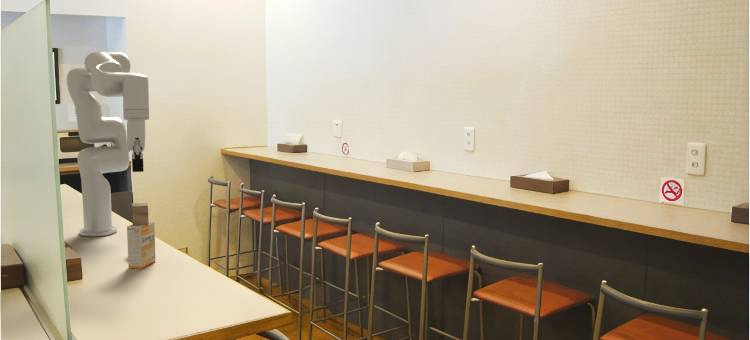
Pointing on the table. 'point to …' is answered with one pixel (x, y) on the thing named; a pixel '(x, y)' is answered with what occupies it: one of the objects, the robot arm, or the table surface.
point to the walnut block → (140, 214)
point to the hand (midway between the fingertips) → (137, 168)
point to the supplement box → (141, 245)
